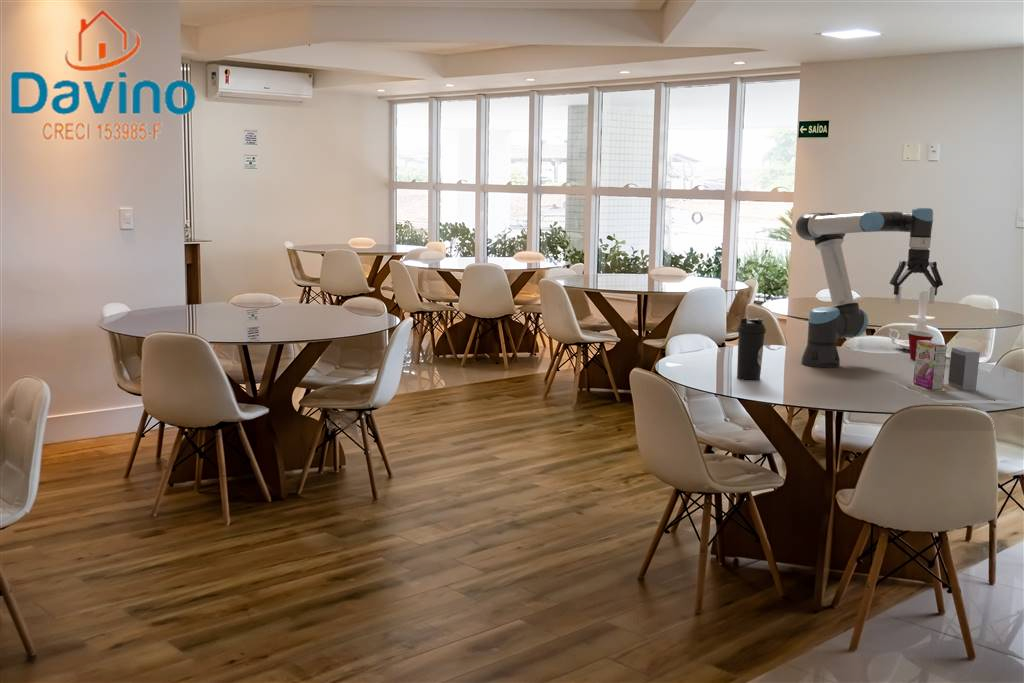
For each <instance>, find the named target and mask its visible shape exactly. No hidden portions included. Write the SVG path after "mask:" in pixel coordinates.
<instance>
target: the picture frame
mask: <svg viewBox="0 0 1024 683" xmlns="http://www.w3.org/2000/svg"><path fill="white" fill-rule="evenodd" d="M907 385H909V386H911V387H909V386H907ZM907 385H906V387H907V388H910V389H911V390H914V391H916V392H918V393H920V394H922V395H923V394H925V393H924V392H980V391H979V390H977V389H976V390H960V389H958V388H955V387H953V386H950V385H948V383H943V389H941V390H931V389H928V388H925V387H922V386H919V385H916V384H913V383H907ZM912 387H913V388H912ZM915 388H916V389H915ZM919 390H920V391H919Z"/></svg>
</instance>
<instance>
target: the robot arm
mask: <svg viewBox="0 0 1024 683" xmlns="http://www.w3.org/2000/svg"><path fill="white" fill-rule="evenodd" d="M911 210H912V211H911V212H903V211H868V212H858V213H843V214H838V213H834V212H808V213H804V214H802V215H800V216H799V218H798V219H797V221H796V223H795V230H796V233H797V235H798V236H799V237H800V239H801V238H802V239H803V240H806V241H809V242H810V241H811V242H812V241H814V245H815V248H816V249H818V250H819V251H820V256H821V260H822V264H823V269H824V273H825V278H826V281H827V286H828V291H829V295H830V299H831V300H830V301H831V303H832V304H831V306H819V307H815V308H812V309H811V310H810V311H809V316H808V327H807V328H808V329H807V343H806V344H807V345H806V347H805V349H804V351H803V354H802V357H801V361H800V362H801V364H802V365H805V366H810V367H816V368H817V367H818V368H838V367H840V365H841V364H840V363H841V360H840V355H839V351H838V339H847V338H850V339H852V338H856V337H860V336H861V335H863V334H864V333H865V332H866V329H867V328H868V325H869V324H868V323H869V318H868V314H867V313H866V312H865V311H864V310H863V309H861V308H860V305H859V302H858V301H857V300H855V299H854V297H853V292H852V287H851V284H850V283H851V282H850V279H849V275H848V271H847V266H846V262H845V257H844V253H843V248H842V244H843V243H844V241H845V240H844V238H845V236H846V234H853V233H854V234H855V233H875V232H878V233H879V232H895V233H896V232H899V233H900V232H902V233H909V243H908V247H909V249H908V253H907V254H908V256H907V258H908V260H907V261H905V260H900V261H899V262H898V267H897V268H896V271H895V273H893V275H892V278H891V279H890V281H889V284H890V285H892V286H893V295H894V296H895V299H894V304H898V305H900V304H901V298H902V288H903V287H902V286H901V285H902V284H903V283H904V282H905V281H906V280H907V278H908V277H909V276H910V275H911V274H913V273H914V274H917V273H918V274H923V275H924V276H925V278H926V280H928V282H929V283H930V285H931V286H929V292H928V304H929V305H935V298H936V296H937V294H938V288H939V287H940V286H942V287H943V280H942V277H941V275H940V272H939V270H938V266H937V265H938V263H937V261H934V260H931V261H929V260H930V252H931V249H930V248H931V240H932V229H933V223H934V210H933V209H932V208H929V207H913V208H912V209H911ZM906 267H907V268H906ZM928 267H930V270H931V272H932V274H931V273H930V270H929V269H928ZM905 268H906V269H905ZM904 270H905V271H904ZM932 275H933V276H932Z"/></svg>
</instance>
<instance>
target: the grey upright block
mask: <svg viewBox="0 0 1024 683" xmlns="http://www.w3.org/2000/svg"><path fill="white" fill-rule="evenodd" d="M980 354H981V353H980V352H979V351H977V350H973V349H969V348H967V347H951V351H950V361H949V369H948V370H949V371H948V378H947V379H948V383H947V384H948V385H950V386H953V387H955V388H958V389H960V390H977V382H978V375H979V374H978V373H979V363H980Z"/></svg>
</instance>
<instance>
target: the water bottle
mask: <svg viewBox="0 0 1024 683" xmlns="http://www.w3.org/2000/svg"><path fill="white" fill-rule="evenodd" d="M763 321H764V318H759V317H758V318H749V319H748V318H747V317H745V316H743V318H742V319H741V320H740V323H739V324H738V325H737V333H738V340H737V341H738V342H737V363H736V364H737V370H736V371H737V372H736V378H737V379H738V380H741V381H746V382H747V381H750V382H753V381H754V382H755V381H756V382H757V381H760V379H761V373H762V363H763V355H764V354H763V352H764V342H765V340H764V339H765V334H766V332H767V331H766V330H767V328H766V327H765V324H764V323H763Z"/></svg>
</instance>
